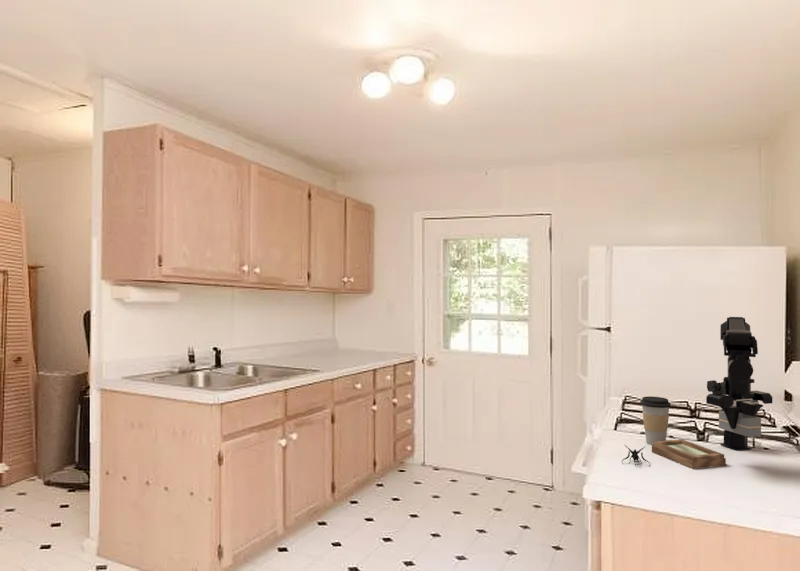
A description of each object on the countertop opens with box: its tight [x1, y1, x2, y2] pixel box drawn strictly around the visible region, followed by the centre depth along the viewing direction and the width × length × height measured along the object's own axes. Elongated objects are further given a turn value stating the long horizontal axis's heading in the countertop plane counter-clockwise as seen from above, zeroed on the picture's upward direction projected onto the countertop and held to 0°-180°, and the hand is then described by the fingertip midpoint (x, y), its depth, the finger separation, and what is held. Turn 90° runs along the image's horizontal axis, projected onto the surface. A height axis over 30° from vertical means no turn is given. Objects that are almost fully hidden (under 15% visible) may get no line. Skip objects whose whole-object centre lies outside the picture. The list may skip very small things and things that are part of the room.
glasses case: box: [718, 410, 762, 438], centre depth 157 cm, size 4×10×5 cm, turn 16°
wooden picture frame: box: [651, 438, 727, 470], centre depth 166 cm, size 12×16×3 cm
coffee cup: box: [639, 395, 672, 446], centre depth 182 cm, size 9×9×15 cm
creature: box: [621, 445, 651, 467], centre depth 161 cm, size 8×5×8 cm
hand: (739, 428), depth 157 cm, fingers closed on glasses case, 4 cm apart
